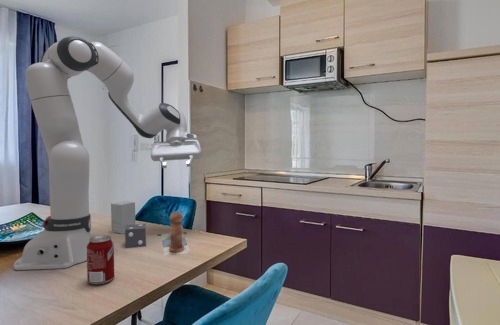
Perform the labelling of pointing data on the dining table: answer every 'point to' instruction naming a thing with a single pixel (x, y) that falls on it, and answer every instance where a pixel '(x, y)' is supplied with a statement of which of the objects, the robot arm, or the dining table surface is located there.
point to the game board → (167, 243)
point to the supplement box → (122, 215)
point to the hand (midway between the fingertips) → (176, 166)
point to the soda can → (100, 260)
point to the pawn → (176, 232)
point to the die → (135, 235)
